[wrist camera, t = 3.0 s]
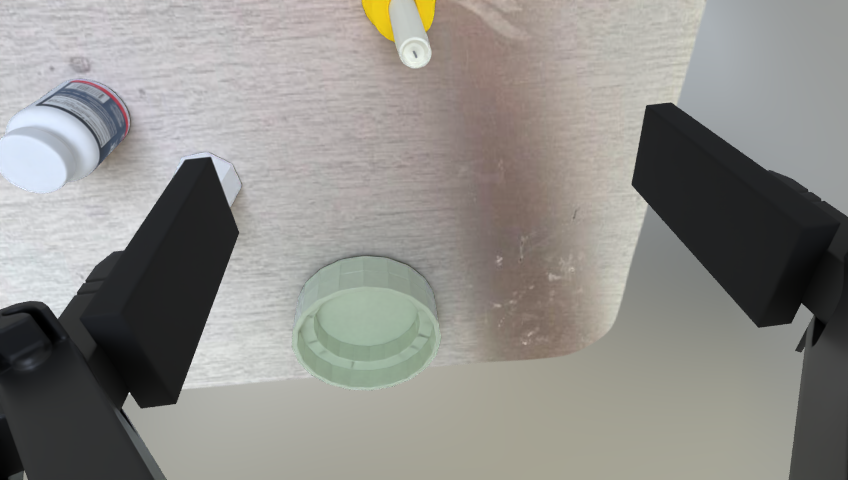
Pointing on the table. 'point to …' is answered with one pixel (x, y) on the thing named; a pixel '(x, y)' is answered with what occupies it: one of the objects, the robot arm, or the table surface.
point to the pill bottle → (62, 136)
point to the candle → (404, 26)
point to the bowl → (366, 324)
